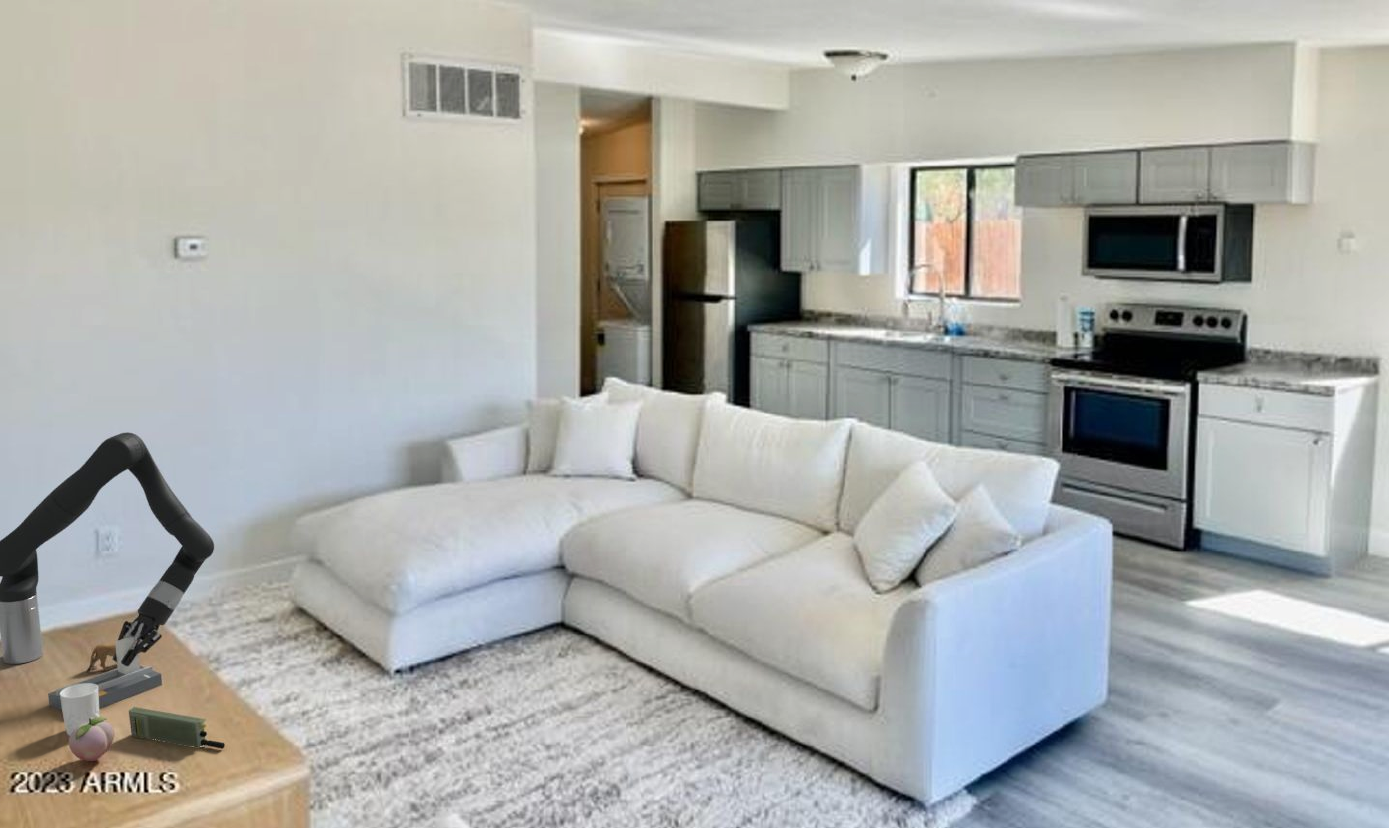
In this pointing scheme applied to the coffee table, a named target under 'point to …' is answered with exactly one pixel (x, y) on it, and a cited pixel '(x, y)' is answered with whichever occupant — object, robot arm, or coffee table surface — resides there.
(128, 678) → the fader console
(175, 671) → the coffee table surface
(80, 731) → the decorative fruit
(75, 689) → the white cup
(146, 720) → the handheld radio
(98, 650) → the lion figurine
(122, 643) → the fader knob
